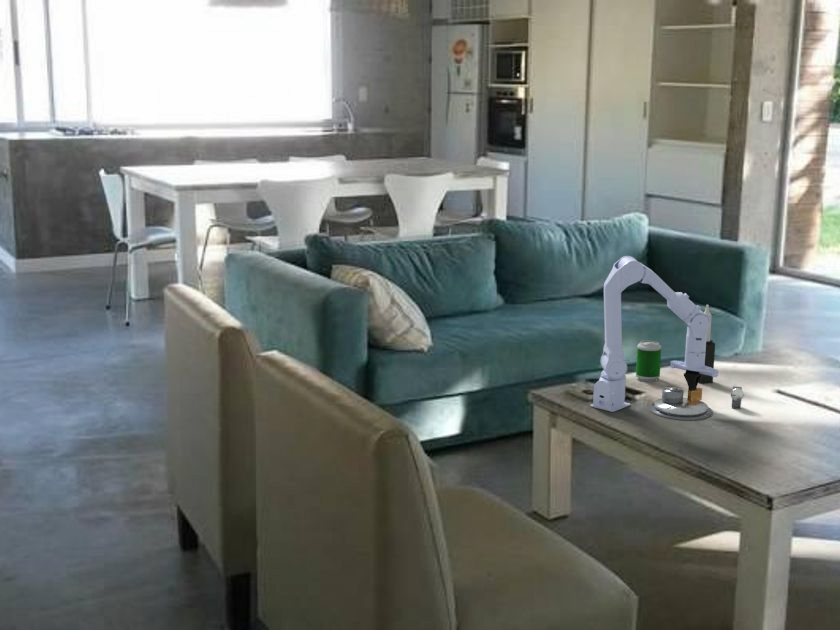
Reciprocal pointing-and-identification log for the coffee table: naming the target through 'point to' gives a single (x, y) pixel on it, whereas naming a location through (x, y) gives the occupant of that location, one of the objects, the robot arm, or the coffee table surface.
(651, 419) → the coffee table surface
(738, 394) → the grey cube on chrome
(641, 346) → the soda can
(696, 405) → the turntable
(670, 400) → the cover
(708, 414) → the turntable base
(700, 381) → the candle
